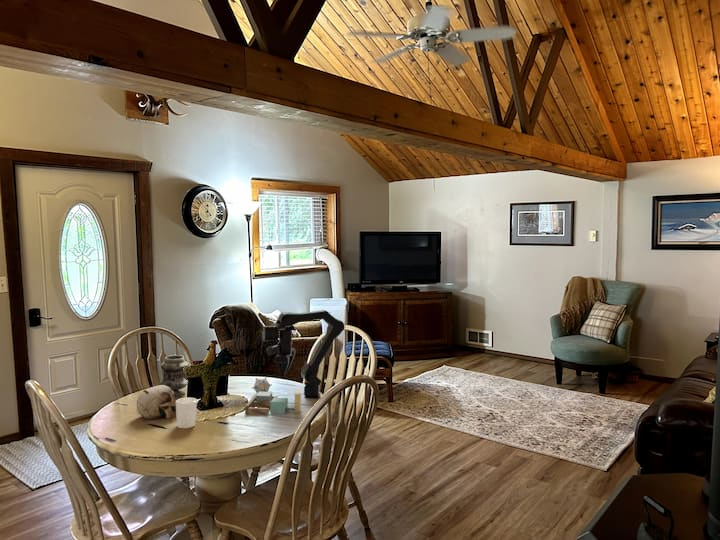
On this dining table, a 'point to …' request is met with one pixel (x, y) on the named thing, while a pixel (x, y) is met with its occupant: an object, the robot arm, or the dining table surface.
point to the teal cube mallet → (285, 405)
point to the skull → (157, 402)
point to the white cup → (186, 412)
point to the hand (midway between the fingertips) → (284, 373)
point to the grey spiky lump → (261, 385)
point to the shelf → (261, 406)
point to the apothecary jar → (174, 373)
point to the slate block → (264, 396)
